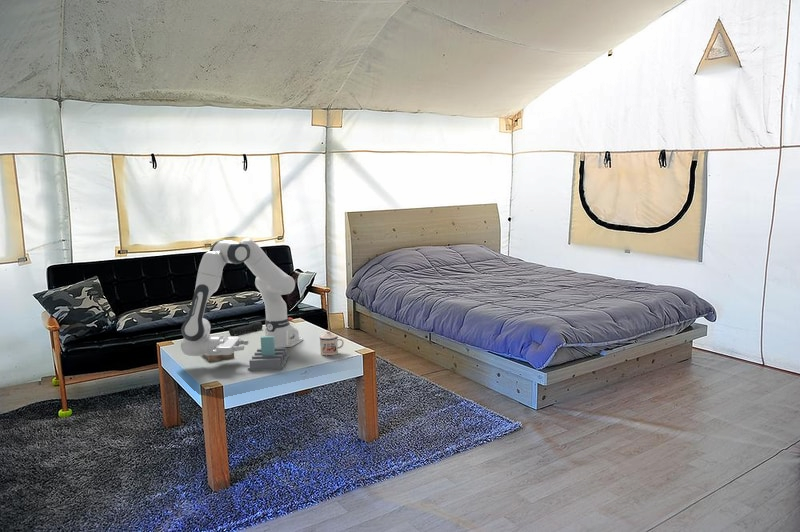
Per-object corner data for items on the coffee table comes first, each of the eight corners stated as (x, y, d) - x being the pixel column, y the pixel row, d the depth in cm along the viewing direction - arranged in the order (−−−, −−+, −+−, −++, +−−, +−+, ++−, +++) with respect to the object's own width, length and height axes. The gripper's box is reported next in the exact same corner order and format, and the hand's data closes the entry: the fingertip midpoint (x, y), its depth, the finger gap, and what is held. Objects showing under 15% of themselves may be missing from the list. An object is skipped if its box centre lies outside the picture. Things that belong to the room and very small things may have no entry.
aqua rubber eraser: (262, 360, 282) (261, 336, 280) (275, 359, 282) (274, 335, 280) (261, 362, 279) (260, 337, 278) (274, 361, 280) (273, 337, 278)
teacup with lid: (320, 357, 289) (320, 334, 288) (319, 352, 298) (318, 329, 297) (345, 355, 292) (344, 332, 290) (342, 350, 301) (342, 328, 299)
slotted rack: (256, 357, 290) (255, 348, 290) (288, 356, 291) (288, 347, 290) (247, 370, 271) (247, 360, 270) (282, 369, 271) (281, 359, 271)
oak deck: (224, 349, 306) (224, 342, 305) (234, 357, 292) (233, 349, 292) (201, 353, 299) (200, 346, 299) (209, 361, 286) (209, 353, 285)
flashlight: (263, 329, 348) (262, 321, 347) (233, 337, 332) (233, 328, 331) (257, 328, 351) (257, 320, 350) (228, 336, 335) (228, 327, 334)
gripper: (210, 345, 268) (241, 344, 268) (221, 334, 288) (250, 333, 288) (211, 358, 268) (241, 357, 269) (222, 346, 289) (250, 345, 289)
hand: (246, 345), depth 279 cm, fingers open, 8 cm apart
